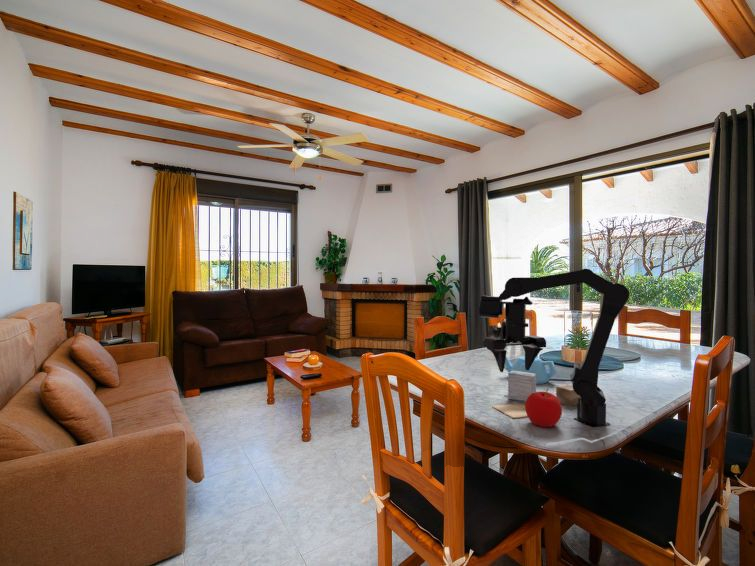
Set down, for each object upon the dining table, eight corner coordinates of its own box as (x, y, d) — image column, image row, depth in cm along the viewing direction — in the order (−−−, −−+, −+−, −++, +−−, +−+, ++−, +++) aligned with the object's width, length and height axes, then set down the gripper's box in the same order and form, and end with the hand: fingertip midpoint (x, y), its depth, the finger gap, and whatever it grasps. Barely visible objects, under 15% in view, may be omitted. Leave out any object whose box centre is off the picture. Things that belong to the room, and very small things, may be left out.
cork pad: (542, 415, 106) (542, 414, 106) (513, 418, 103) (513, 417, 103) (519, 403, 116) (519, 402, 116) (492, 407, 113) (492, 406, 113)
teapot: (520, 387, 134) (520, 358, 134) (500, 376, 149) (501, 350, 149) (559, 386, 136) (559, 357, 136) (535, 375, 151) (536, 349, 151)
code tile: (541, 406, 116) (541, 404, 116) (526, 407, 114) (526, 405, 114) (518, 395, 126) (518, 393, 126) (503, 397, 124) (503, 395, 124)
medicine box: (536, 400, 119) (536, 373, 119) (533, 403, 116) (533, 376, 116) (511, 395, 124) (511, 369, 124) (507, 399, 120) (508, 372, 120)
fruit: (550, 434, 93) (550, 395, 93) (518, 422, 101) (518, 386, 100) (568, 426, 99) (569, 388, 99) (537, 415, 106) (537, 381, 106)
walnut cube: (580, 404, 116) (580, 388, 116) (570, 406, 114) (570, 390, 113) (566, 399, 120) (566, 384, 120) (556, 401, 118) (556, 386, 118)
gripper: (522, 316, 121) (521, 363, 121) (473, 317, 115) (472, 366, 115) (548, 319, 110) (547, 371, 111) (495, 321, 105) (494, 375, 105)
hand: (514, 370), depth 111 cm, fingers open, 9 cm apart
